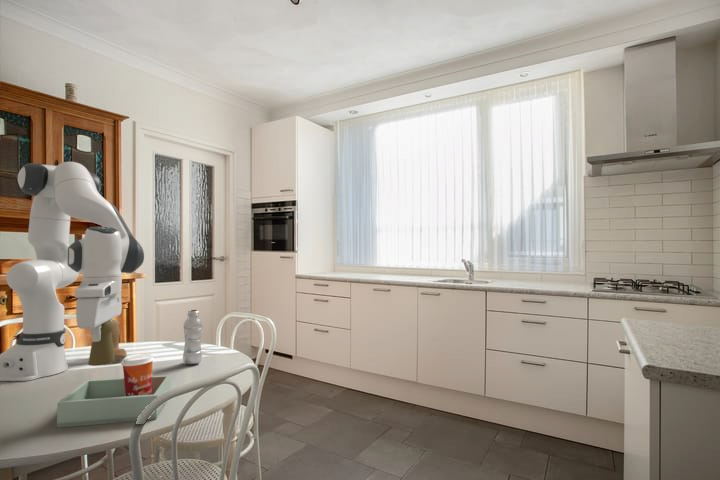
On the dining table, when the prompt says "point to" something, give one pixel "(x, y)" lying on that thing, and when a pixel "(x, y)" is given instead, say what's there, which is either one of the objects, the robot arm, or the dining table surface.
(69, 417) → the pale green tray
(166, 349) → the dining table surface
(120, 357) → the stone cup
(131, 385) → the paper cup
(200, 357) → the plastic bottle
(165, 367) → the dining table surface
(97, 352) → the cork
